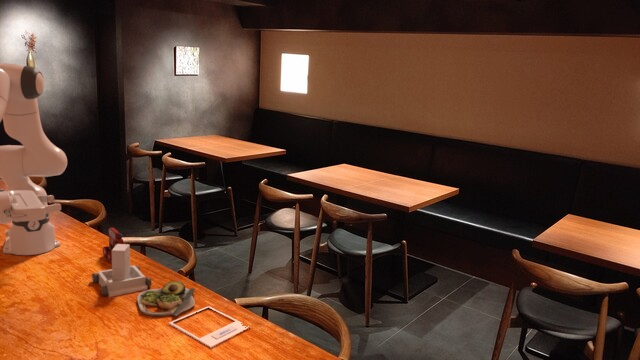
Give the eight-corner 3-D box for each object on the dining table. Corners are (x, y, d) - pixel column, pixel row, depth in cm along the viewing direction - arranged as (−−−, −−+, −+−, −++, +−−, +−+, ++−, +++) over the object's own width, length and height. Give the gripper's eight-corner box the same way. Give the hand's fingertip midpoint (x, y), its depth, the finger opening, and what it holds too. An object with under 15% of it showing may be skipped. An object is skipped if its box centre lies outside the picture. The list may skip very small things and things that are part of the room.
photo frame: (211, 346, 134) (168, 322, 144) (211, 349, 134) (168, 325, 145) (250, 326, 145) (208, 305, 156) (250, 329, 146) (208, 308, 156)
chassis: (91, 280, 168) (91, 270, 167) (136, 271, 177) (136, 262, 176) (104, 298, 157) (104, 287, 156) (151, 288, 165) (151, 278, 165)
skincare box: (117, 277, 169) (116, 243, 167) (130, 277, 170) (130, 244, 167) (111, 285, 163) (111, 250, 161) (125, 285, 164) (124, 250, 161)
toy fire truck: (112, 265, 181) (111, 238, 178) (101, 254, 190) (100, 227, 187) (131, 262, 185) (131, 235, 183) (120, 251, 194) (119, 225, 192)
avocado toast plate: (203, 317, 150) (204, 303, 149) (140, 325, 143) (140, 310, 142) (192, 289, 168) (193, 276, 167) (135, 295, 161) (135, 282, 160)
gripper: (6, 206, 132) (64, 201, 140) (-3, 188, 148) (50, 184, 156) (7, 229, 133) (65, 222, 142) (-2, 209, 149) (50, 204, 157)
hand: (57, 202), depth 149 cm, fingers open, 8 cm apart
